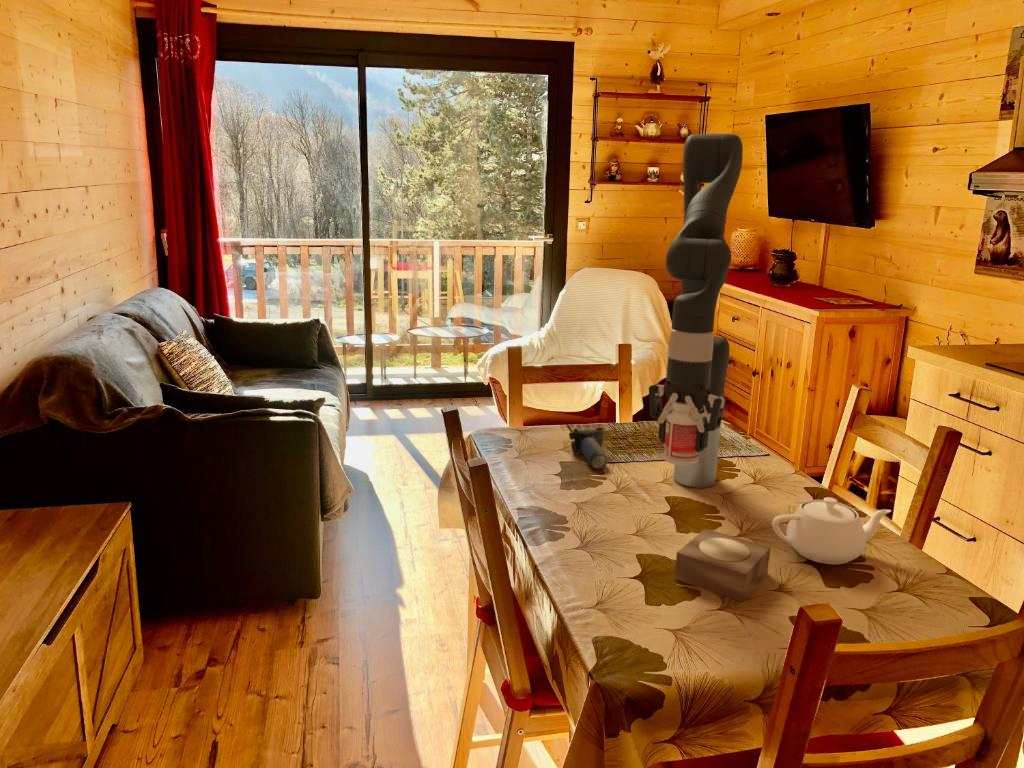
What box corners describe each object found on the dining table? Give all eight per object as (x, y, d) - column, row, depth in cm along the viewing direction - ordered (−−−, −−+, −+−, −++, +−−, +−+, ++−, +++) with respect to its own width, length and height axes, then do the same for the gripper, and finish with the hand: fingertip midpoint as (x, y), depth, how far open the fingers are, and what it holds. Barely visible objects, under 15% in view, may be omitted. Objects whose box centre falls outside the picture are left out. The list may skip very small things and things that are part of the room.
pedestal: (703, 553, 148) (705, 527, 146) (767, 573, 141) (770, 546, 140) (674, 578, 139) (676, 551, 137) (742, 601, 132) (745, 573, 130)
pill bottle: (705, 463, 144) (711, 403, 141) (680, 469, 141) (685, 408, 138) (681, 452, 149) (686, 395, 146) (656, 458, 146) (660, 399, 143)
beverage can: (571, 458, 198) (586, 478, 187) (567, 429, 195) (582, 449, 184) (606, 449, 199) (623, 469, 188) (602, 421, 197) (619, 440, 186)
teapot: (783, 571, 142) (790, 515, 139) (756, 536, 155) (761, 484, 152) (903, 570, 144) (913, 514, 141) (866, 535, 157) (874, 484, 154)
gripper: (738, 358, 138) (728, 450, 143) (662, 345, 147) (655, 433, 151) (720, 365, 133) (710, 461, 137) (642, 352, 141) (636, 442, 145)
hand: (681, 446), depth 144 cm, fingers closed on pill bottle, 6 cm apart
